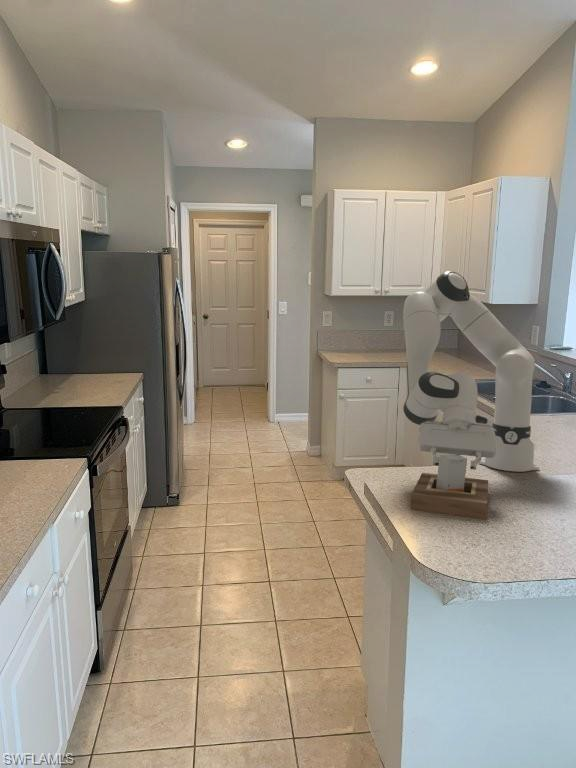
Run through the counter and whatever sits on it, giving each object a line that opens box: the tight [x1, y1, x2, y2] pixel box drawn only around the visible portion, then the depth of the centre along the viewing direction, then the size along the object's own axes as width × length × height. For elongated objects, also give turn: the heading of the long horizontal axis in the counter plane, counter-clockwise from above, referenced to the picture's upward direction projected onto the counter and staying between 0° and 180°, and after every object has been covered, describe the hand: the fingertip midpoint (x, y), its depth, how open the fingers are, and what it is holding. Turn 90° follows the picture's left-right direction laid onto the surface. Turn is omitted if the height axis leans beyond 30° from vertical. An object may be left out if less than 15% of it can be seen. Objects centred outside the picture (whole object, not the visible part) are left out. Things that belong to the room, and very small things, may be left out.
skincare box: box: [436, 454, 468, 492], centre depth 152 cm, size 6×4×12 cm
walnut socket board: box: [410, 472, 489, 520], centre depth 152 cm, size 22×18×4 cm
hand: (454, 466), depth 152 cm, fingers open, 8 cm apart
